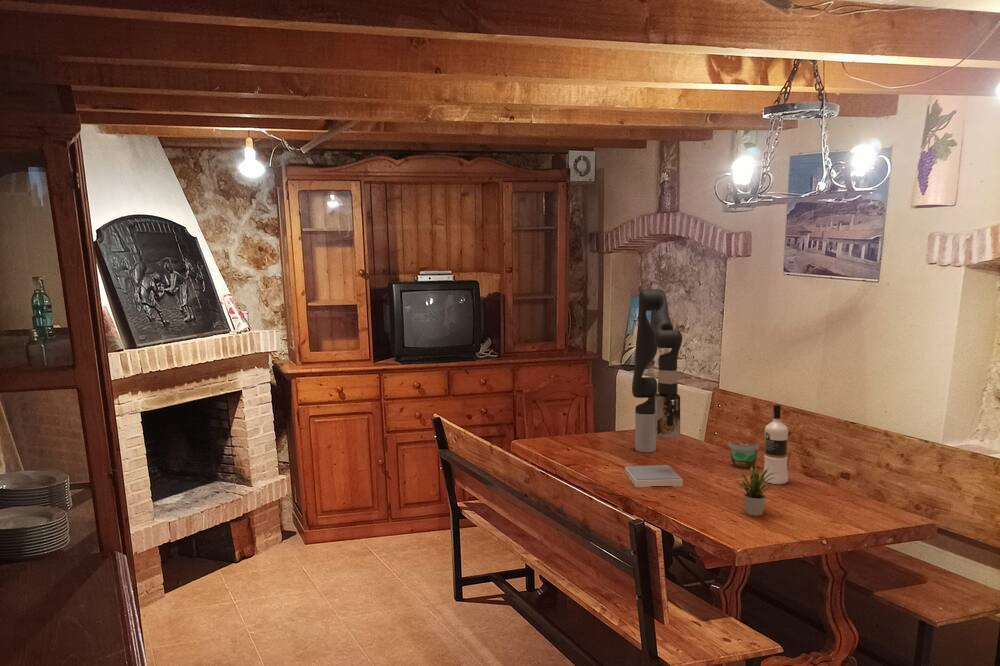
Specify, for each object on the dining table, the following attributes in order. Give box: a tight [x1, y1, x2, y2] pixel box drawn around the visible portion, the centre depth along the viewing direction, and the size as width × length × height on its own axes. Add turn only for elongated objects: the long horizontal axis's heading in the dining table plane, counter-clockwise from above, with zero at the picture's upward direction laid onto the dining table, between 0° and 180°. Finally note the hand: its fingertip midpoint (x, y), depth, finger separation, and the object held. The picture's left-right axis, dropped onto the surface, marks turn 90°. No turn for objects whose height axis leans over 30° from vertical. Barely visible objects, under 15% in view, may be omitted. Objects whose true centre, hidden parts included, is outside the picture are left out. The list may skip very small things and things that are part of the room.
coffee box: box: [655, 393, 681, 438], centre depth 272 cm, size 9×6×16 cm
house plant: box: [735, 465, 777, 517], centre depth 233 cm, size 14×14×16 cm
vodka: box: [762, 404, 789, 485], centre depth 267 cm, size 9×9×30 cm
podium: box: [624, 464, 684, 488], centre depth 273 cm, size 18×18×3 cm
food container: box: [727, 441, 761, 470], centre depth 287 cm, size 12×6×10 cm, turn 68°
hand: (667, 423), depth 272 cm, fingers closed on coffee box, 7 cm apart
